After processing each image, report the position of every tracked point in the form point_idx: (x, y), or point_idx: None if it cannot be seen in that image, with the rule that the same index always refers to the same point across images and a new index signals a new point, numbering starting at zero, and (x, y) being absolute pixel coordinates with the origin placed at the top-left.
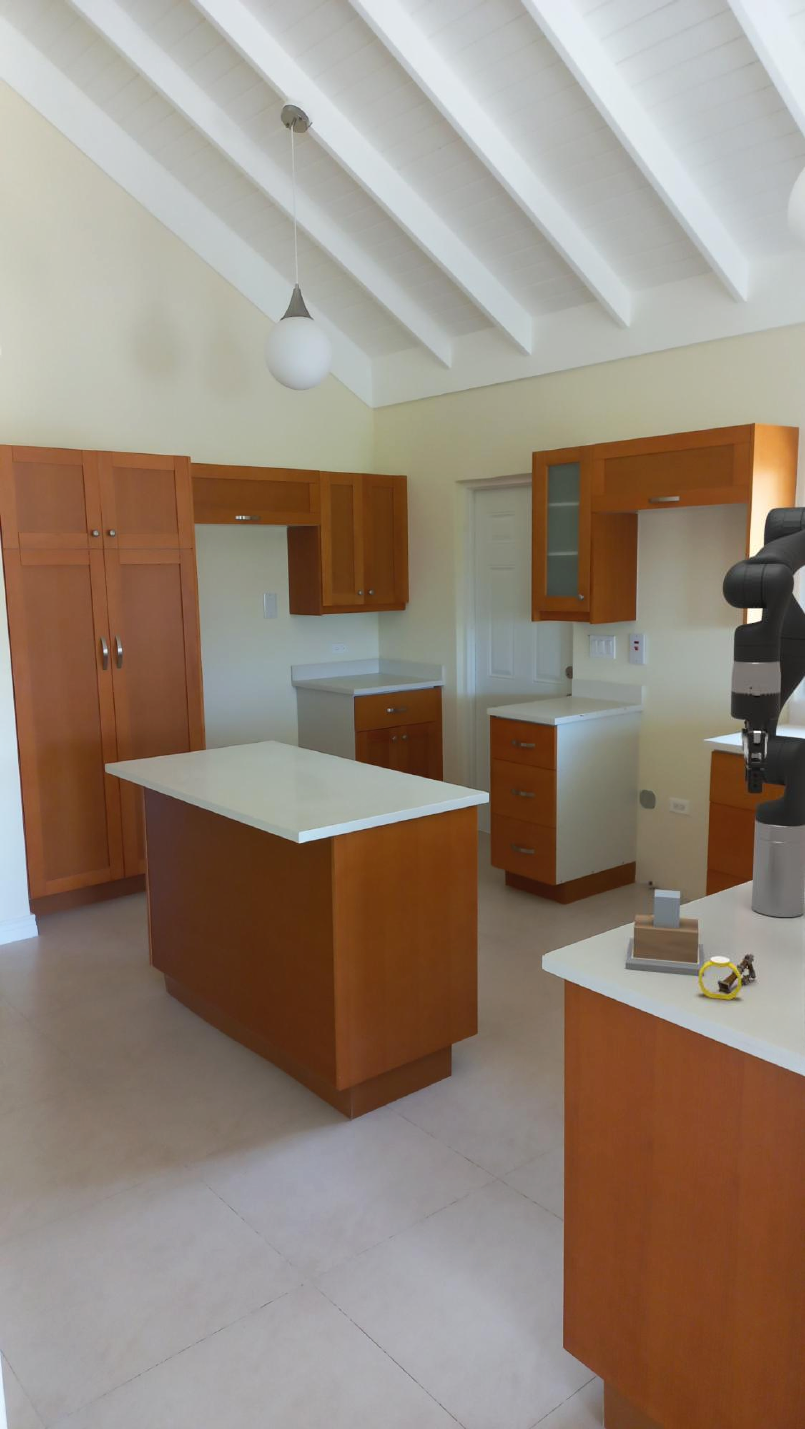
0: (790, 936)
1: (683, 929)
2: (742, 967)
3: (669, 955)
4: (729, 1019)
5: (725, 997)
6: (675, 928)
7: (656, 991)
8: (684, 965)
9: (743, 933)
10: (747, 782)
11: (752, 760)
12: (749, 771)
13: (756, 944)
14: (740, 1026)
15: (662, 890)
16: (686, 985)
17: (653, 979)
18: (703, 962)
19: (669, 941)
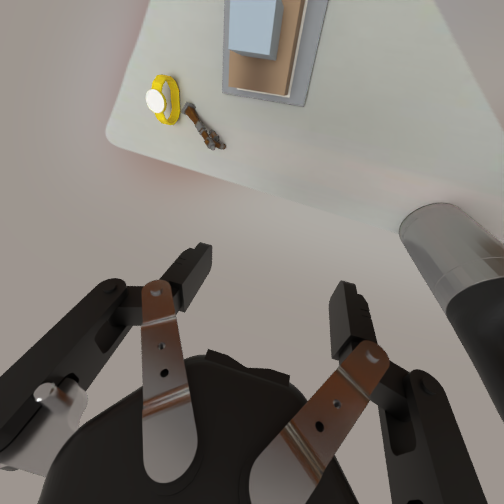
0: (341, 213)
1: (238, 63)
2: (199, 133)
3: None
4: (132, 101)
5: (172, 106)
6: None
7: (167, 17)
8: None
9: (357, 170)
10: (201, 257)
11: (344, 348)
12: (171, 281)
13: (320, 174)
14: (123, 108)
15: (271, 10)
16: (194, 64)
17: (201, 15)
18: (244, 96)
19: None
